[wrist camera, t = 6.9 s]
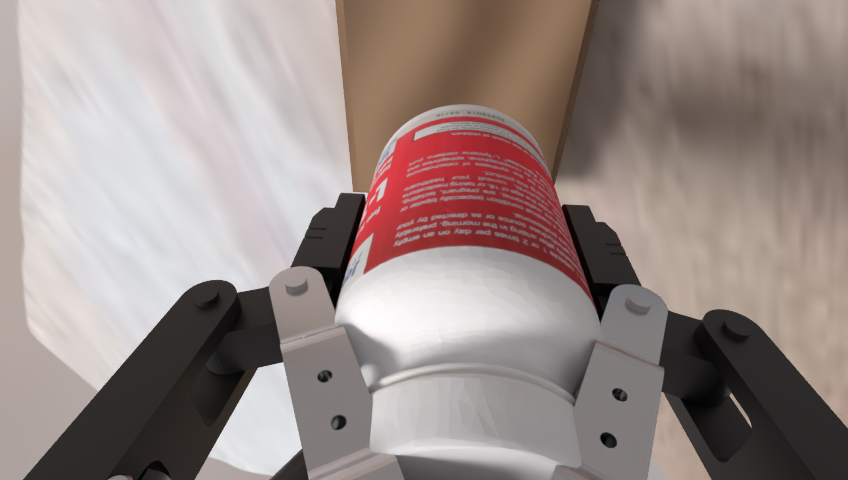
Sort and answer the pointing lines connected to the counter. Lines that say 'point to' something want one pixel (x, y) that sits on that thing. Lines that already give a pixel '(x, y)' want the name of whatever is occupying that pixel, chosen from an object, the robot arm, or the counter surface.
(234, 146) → the counter surface
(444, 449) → the pill bottle
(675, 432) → the counter surface
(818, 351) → the counter surface
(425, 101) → the plinth
